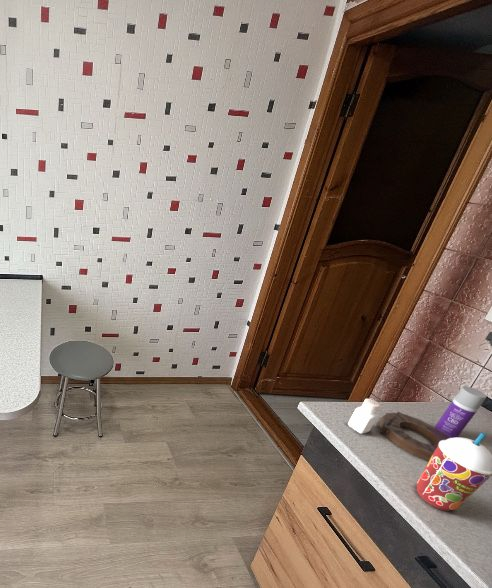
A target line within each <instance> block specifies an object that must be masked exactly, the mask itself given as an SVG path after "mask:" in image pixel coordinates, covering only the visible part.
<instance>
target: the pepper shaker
mask: <svg viewBox="0 0 492 588" xmlns="http://www.w3.org/2000/svg"><path fill="white" fill-rule="evenodd" d="M380 406H381V405H380V403H379V402H377V401H376V400H374V399H371V398H365V399H364V401H363V403H362V405H361V406H357V407H356V408H355V409H354V411H353V413H352V415H351V417H350V419H349V421H348V422H347V426H349V427H350V428H351V429H353V430H354V431H356V432H357V433H358V434H361V435H362V434H366V433H369V432H370V431H371V430H372V428H373V426H374V425H375V423H376V421H377V419H378V417H379V415H378V414H377V413H376V412H377V411H378V410H379V408H380Z"/></svg>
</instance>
